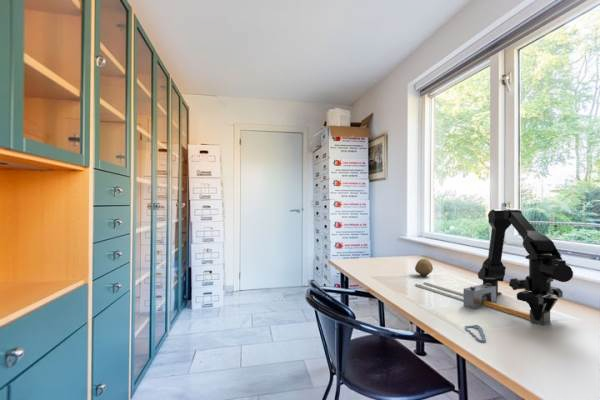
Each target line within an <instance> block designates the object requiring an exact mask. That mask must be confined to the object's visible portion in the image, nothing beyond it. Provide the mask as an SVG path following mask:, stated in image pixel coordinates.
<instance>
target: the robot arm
mask: <svg viewBox="0 0 600 400" xmlns="http://www.w3.org/2000/svg"><path fill="white" fill-rule="evenodd" d="M487 218H488V219H487V220H488V221H487V222H488V223H489V225H490V227H491V231H490V232H491V233H490V240H489V241H490V242H489V246H488V247H489V248H488V254H487V255H488V256H487V258H486V259H485V260H484V261H483V263H482V267H481V268H480V269H479V271H478V273H477V277H478V279H479V280H481V281H482V284H486V283H491V285H494V286H496V296H499V295H503V293H502V292H500V291H499V282H503V281H504V279H505V275H506V269H507V268H506V266H505V265H504V263H503V262H502V258H503V249H504V244H505V243H504V242H505V237H506V230H507V229H508V228H510V226H513V228H514V229H515V230H516V232H518V234H519V236H520V237H521V238H522V246H523V248H524V249H525V251H526V252H527V255H526V256H525V260H528V271H529V272H528V275H526V276H525V278H524V279H523V278H522V279H518V278H517V277H516V278H510V279H509V281H508V286H509V287H510V288H512V290H513V291H517V290H521V291H519V292H517V293H516V299H517V300H518V301H522V302H526V303H527V304H528V305H529V308H530V309H531V311H532V313H533V316H534V319H535V320H538V321H539V320H540V318H541V315H542V313H543V311H544V310H547V311H550V312H551V310H552V309H553V307H554V306H555V304H556V302H557V301H559V299H560V298H563V296H564V295H563V294H564V293H563V290H562V289H561V288H559V287H555V286H552V282H554V280H555V281H558V282H561V283H566V282H569V281H570V280H572V279H573V277H574V271H573V269H572V267H570V265H568V264H567V261H566V260H564V259H563V258H562V254H561V253H560V252H559V251H558V248H557V247H556V244H555V243H554V241H552V239H550V238H549V237H548V236H547V235H545V234H542V233H540V232H538V231H537V229H536V228H535V227H534V226H533V225H532V224H531V223H530V222H529V221H528V220H527V218H526V217H525V216H524V215H523V211H522V210H521V209H518V208H507V209H491V210H489V212H488V214H487ZM554 296H556V297H557V298H555V297H554ZM558 298H559V299H558Z"/></svg>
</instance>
